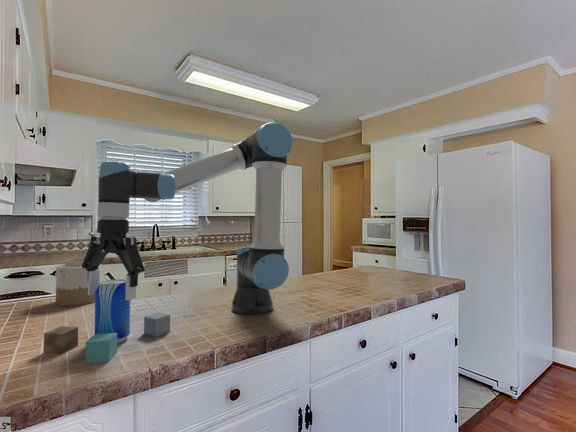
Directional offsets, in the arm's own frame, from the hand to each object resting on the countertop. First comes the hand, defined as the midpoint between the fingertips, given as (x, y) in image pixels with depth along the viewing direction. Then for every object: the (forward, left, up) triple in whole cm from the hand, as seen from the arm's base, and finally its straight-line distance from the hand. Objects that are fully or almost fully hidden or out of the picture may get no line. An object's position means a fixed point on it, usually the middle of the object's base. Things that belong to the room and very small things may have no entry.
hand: (111, 296), depth 86 cm
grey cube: (-7, -9, -12) cm, 17 cm away
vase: (+48, -26, -12) cm, 56 cm away
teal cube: (-7, +9, -12) cm, 17 cm away
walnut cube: (+7, +9, -12) cm, 16 cm away
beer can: (0, 0, -12) cm, 12 cm away
